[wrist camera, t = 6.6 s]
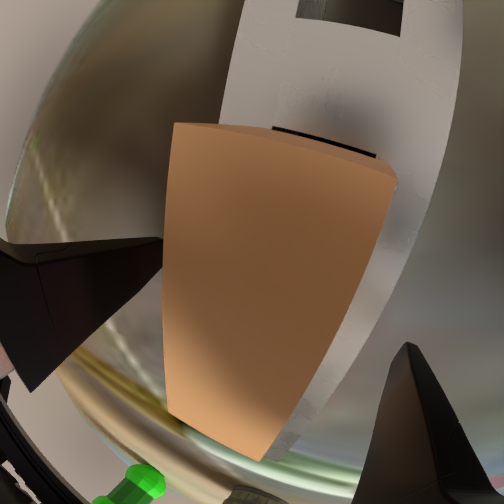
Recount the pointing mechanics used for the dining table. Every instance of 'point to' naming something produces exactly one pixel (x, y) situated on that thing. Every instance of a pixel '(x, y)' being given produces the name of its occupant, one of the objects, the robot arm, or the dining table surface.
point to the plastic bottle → (136, 487)
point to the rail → (353, 130)
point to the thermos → (251, 497)
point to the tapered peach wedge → (259, 271)
